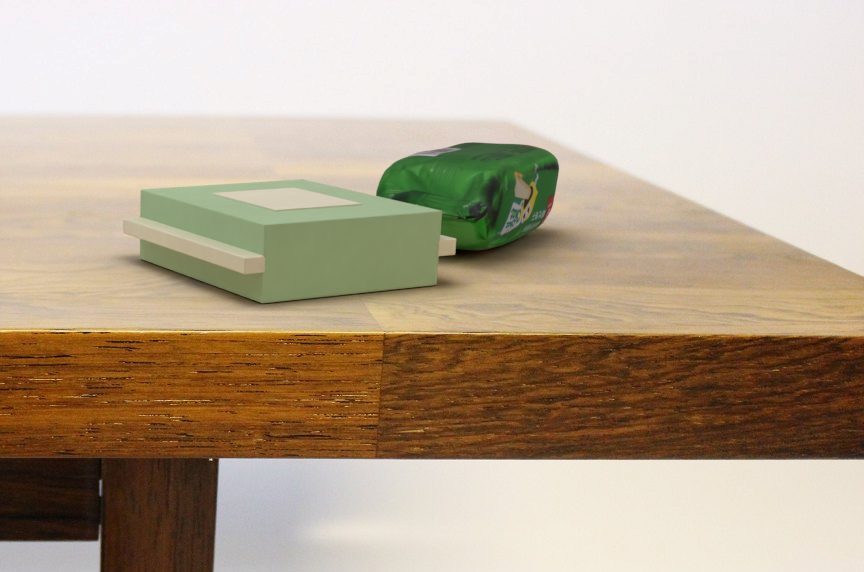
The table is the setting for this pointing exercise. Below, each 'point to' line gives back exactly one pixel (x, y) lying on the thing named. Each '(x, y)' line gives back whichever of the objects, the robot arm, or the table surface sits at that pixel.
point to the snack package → (478, 189)
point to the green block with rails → (289, 239)
